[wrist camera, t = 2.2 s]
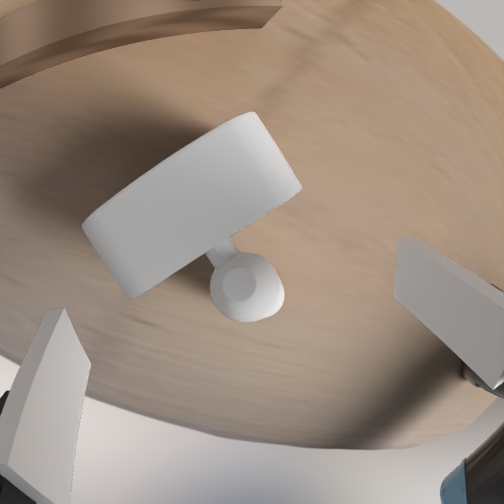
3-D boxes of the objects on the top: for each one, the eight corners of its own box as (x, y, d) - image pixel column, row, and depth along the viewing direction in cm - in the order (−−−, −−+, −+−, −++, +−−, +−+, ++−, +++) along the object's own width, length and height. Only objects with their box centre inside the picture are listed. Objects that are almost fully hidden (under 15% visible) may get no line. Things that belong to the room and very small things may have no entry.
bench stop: (256, -12, 14) (294, -66, 8) (261, 28, 15) (305, -17, 9) (-35, 67, 11) (-97, 58, 5) (-34, 106, 12) (-100, 109, 6)
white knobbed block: (221, 337, 22) (225, 432, 12) (136, 214, 20) (68, 230, 10) (319, 276, 22) (388, 334, 12) (240, 146, 20) (259, 102, 10)
